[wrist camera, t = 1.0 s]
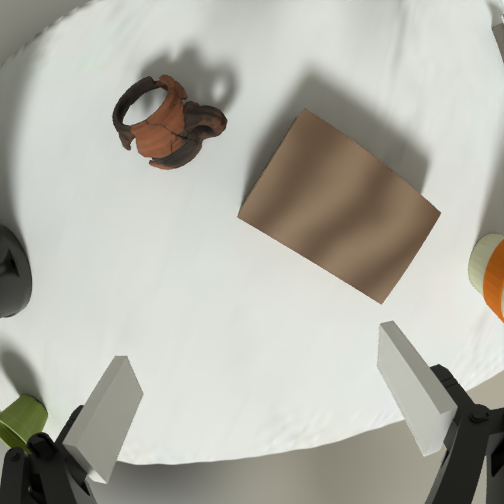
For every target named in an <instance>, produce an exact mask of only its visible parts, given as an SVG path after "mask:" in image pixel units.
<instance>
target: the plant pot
mask: <svg viewBox="0 0 504 504" xmlns="http://www.w3.org/2000/svg"><path fill="white" fill-rule="evenodd" d="M47 418H48V414H47V412H46V410H45V408H44V407H43V406H42V404H41V403H39V402H37V401H36V400H35V398H33V397H32V396H30V395H27V394H24V395H22V396H21V397H19V398H18V399H17V400H16V401H15V402H13V403H12V404H11V405H10V406H9V407H7V408H6V409H5V410H4V411H2V412H1V413H0V439H1V440H2V441H3V442H4V443H5V444H6V445H7V446H8V447H10V448H13V447H21V448H23V450H24V451H25V452H26V453H27V454H32V453H31V452H30V450H29V449H28V448H27V447H26V445H27V441H28V439H29V438H30V437H31V436H32V435H34V434H36V433H39V432H42V430H43V428H44V425H45V423H46V420H47Z"/></svg>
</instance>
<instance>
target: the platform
mask: <svg viewBox="0 0 504 504" xmlns="http://www.w3.org/2000/svg"><path fill="white" fill-rule="evenodd" d="M501 18H502V21H503V23H502V24H499V25H497V26H495V27H492V31H493V34H494V36H495V39H496V42H497V44H498V47H499V50H500V53H501V56H502V59H503V63H504V14H503V15H501Z"/></svg>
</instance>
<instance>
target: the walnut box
mask: <svg viewBox="0 0 504 504" xmlns="http://www.w3.org/2000/svg"><path fill="white" fill-rule="evenodd" d="M440 214H441V212H440V211H438V210H437V209H436V208H435V207H434V206H433V205H432V204H431V203H430V202H429V201H428V200H426V199H425V198H424V197H423V196H422V195H421V194H420V193H418V192H417V191H416V190H415V189H414V188H413V187H411V186H410V185H409V184H408V183H407V182H406V181H404V180H403V179H402V178H401V177H400V176H398V175H397V174H396V173H395V172H393V171H392V170H391V169H390V168H388V167H387V166H386V165H385V164H383V163H382V162H381V161H379V160H378V159H377V158H376V157H374V156H373V155H372V154H370V153H369V152H368V151H366V150H365V149H364V148H362V147H361V146H359V145H358V144H357V143H355V142H354V141H352V140H351V139H350V138H348V137H347V136H345V135H344V134H343V133H341V132H340V131H338V130H337V129H335V128H334V127H332V126H331V125H329V124H328V123H326V122H325V121H323V120H322V119H320V118H319V117H317V116H315V115H314V114H312V113H311V112H309V111H308V110H306V109H304V110H303V111H302V112H301V113H300V114H299V115H298V116H297V118H296V119H295V121H294V122H293V124H292V125H291V127H290V128H289V130H288V132H287V133H286V135H285V136H284V138H283V140H282V141H281V143H280V144H279V146H278V148H277V149H276V151H275V152H274V154H273V156H272V157H271V159H270V160H269V162H268V164H267V165H266V167H265V168H264V170H263V172H262V173H261V175H260V177H259V178H258V180H257V181H256V183H255V185H254V186H253V188H252V190H251V191H250V193H249V195H248V196H247V198H246V200H245V201H244V203H243V205H242V206H241V208H240V210H239V213H238V216H237V217H238V218H240V219H241V220H243V221H245V222H246V223H248V224H250V225H251V226H253V227H255V228H257V229H258V230H260V231H262V232H263V233H265V234H267V235H268V236H270V237H272V238H273V239H275V240H277V241H278V242H280V243H282V244H283V245H285V246H287V247H288V248H290V249H292V250H293V251H295V252H297V253H298V254H300V255H302V256H303V257H305V258H307V259H308V260H310V261H312V262H313V263H315V264H317V265H318V266H320V267H321V268H323V269H325V270H326V271H328V272H330V273H331V274H333V275H335V276H336V277H338V278H339V279H341V280H343V281H344V282H346V283H348V284H349V285H351V286H352V287H354V288H356V289H357V290H359V291H361V292H362V293H364V294H365V295H367V296H369V297H370V298H372V299H373V300H375V301H377V302H378V303H380V304H381V305H382V303H383V302H384V301H385V299H386V298H387V296H388V295H389V294H390V292H391V291H392V289H393V288H394V287H395V285H396V284H397V282H398V281H399V279H400V278H401V277H402V275H403V274H404V272H405V271H406V269H407V268H408V266H409V265H410V263H411V262H412V260H413V259H414V257H415V255H416V254H417V252H418V251H419V249H420V248H421V246H422V244H423V243H424V241H425V240H426V238H427V236H428V235H429V233H430V231H431V230H432V228H433V226H434V225H435V223H436V221H437V220H438V218H439V216H440Z"/></svg>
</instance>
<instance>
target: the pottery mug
mask: <svg viewBox="0 0 504 504" xmlns="http://www.w3.org/2000/svg"><path fill="white" fill-rule="evenodd" d="M159 79H160V80H159V81H154V80H153V79H152V77H150V76H148V77H146V78H143V79H141V80H140V81H138V82H136V83H135V84H134V85H132V86H131V87H130V88H129V89H128V90H127V91H126V92H125V94H123V95H122V97H121V98H120V99H119V101H118V103H117V104H116V106H115V108H114V111H113V116H112V118H113V124H114V126H115V128H116V130H117V132H118V133H119V138H120V140H121V142H122V145H123V147H124V148H126V149H127V150H131V146H130V144H131V142H132V140H133V139H134V138H136V144H137V149H138V153H139V154H141V155H142V156H144V157H152V160H154V161H152V160H150V161H149V164H150V165H151V166H154V167H158V168H160V169H166V170H169V169H174V168H179V167H181V166H184V165H185V164H187V163H188V162H190V161H191V160H192V159H194V157H195V156H196V155H197V154H198V152H199V151H200V149H201V148H202V146H201V143H200V141H203V140H204V139H207V138H210V137H216V136H219V135H220V134H221V133H222V132H223V131H224V130H225V129H226V124H227V119H226V117H225V116H224V114H223V113H222V112H221V111H220V110H219V109H217V108H214V107H211V106H205V105H203V106H200V105H199V104H198V103H195V102H193V101H189V102H187V103H186V104H185V106H184V105H183V102H182V100H185V99H187V95H186V92H185V91H184V88H183V87H182V86H181V85H180V84H179V83H178V82H177V81H174V79H173V78H171V76H168V75H162V76H161V77H160V78H159ZM160 87H161V88H163V89H165V90H167V91H168V95H167V97H166V99H165V101H164V102H163V103H162V105H161V106H160V107H159V108H158V110H157V111H156V112H154V113H153V114H152V115H151V116H150V117H148V118H147V119H146V120H144V121H142V122H140V123H137V124H134V125H131V126H129V125H124V124H123V123H122V122H123V118H124V116H125V114H126V112H127V111H128V109H129V106H130V105H132V104H133V103H134V102H135V101H136V100H137V99H138V98H139V97H140V96H141V95H143V94H144V93H146V92H148V91H150V90H153V89H156V88H160ZM184 130H186V131H187V137H182V136H180V134H181V133H183V132H184Z"/></svg>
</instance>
